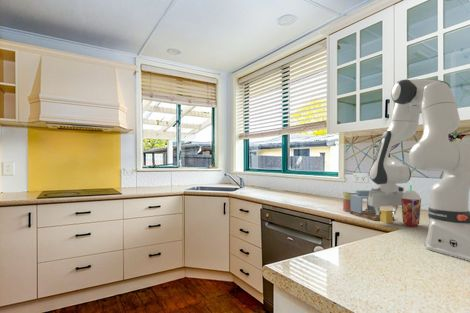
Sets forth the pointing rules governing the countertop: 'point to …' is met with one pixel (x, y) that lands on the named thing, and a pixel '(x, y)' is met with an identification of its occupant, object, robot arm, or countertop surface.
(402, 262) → the countertop surface
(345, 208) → the canned food
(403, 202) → the smoothie
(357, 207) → the cover
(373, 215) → the peg board
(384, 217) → the yellow block
